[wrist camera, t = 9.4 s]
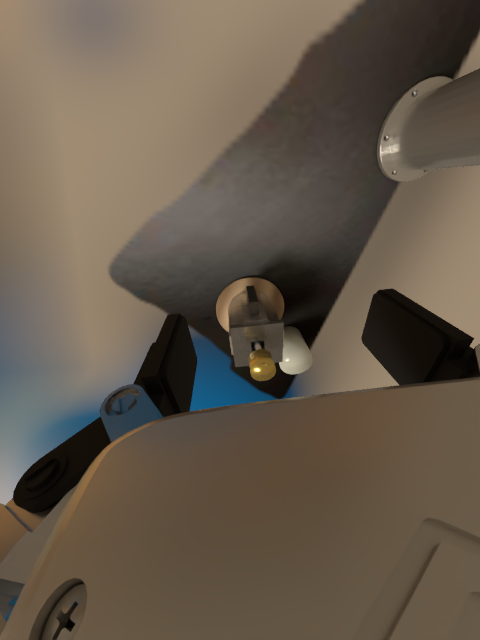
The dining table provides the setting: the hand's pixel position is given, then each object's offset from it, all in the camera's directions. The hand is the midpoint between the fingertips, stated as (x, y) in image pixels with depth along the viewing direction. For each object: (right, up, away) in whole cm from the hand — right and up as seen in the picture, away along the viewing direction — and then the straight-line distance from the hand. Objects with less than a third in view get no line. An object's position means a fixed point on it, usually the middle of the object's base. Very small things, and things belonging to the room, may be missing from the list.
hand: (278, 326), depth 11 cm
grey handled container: (0, +4, +38) cm, 38 cm away
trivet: (0, +3, +39) cm, 39 cm away
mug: (+10, -4, +44) cm, 46 cm away
